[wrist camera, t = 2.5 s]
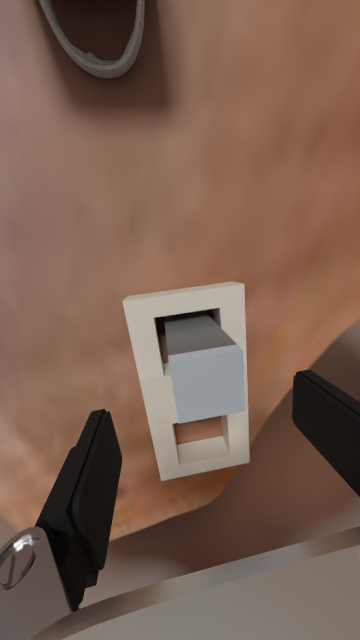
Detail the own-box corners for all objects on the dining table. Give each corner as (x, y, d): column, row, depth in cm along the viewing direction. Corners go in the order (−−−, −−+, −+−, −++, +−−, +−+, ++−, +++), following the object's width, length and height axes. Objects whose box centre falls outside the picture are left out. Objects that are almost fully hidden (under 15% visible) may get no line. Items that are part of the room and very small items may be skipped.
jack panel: (233, 281, 18) (244, 283, 16) (240, 442, 24) (249, 462, 22) (127, 296, 18) (122, 301, 15) (160, 458, 23) (161, 481, 21)
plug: (204, 311, 19) (243, 350, 10) (207, 348, 20) (245, 411, 12) (163, 317, 19) (168, 362, 10) (169, 354, 20) (178, 423, 11)
